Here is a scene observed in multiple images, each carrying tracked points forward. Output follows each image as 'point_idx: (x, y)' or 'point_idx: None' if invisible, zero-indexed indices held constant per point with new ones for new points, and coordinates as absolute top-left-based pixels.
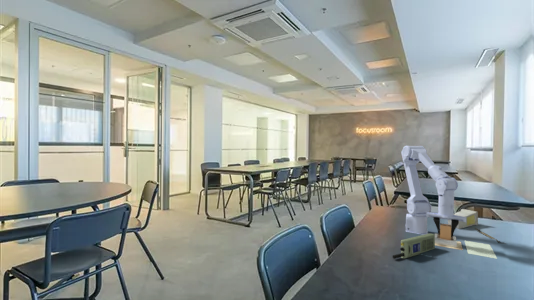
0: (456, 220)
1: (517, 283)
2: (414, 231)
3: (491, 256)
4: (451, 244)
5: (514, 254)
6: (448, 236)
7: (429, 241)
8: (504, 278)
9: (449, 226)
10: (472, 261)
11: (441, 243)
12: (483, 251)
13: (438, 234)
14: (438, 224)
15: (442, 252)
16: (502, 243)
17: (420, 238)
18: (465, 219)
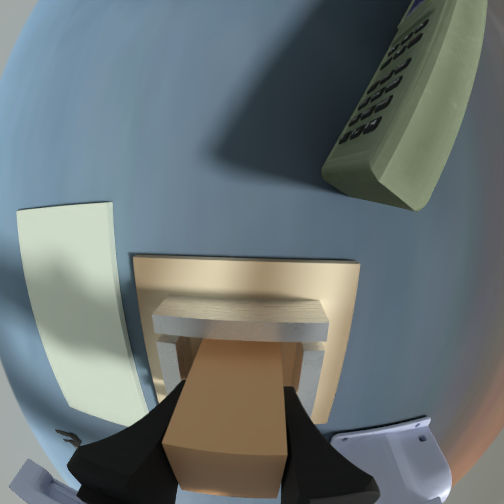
0: (96, 501)
1: (45, 7)
2: (395, 436)
3: (29, 231)
4: (197, 303)
5: (8, 333)
6: (210, 371)
7: (388, 85)
8: (60, 10)
9: (180, 451)
10: (106, 92)
11: (270, 305)
12: (55, 298)
13: (293, 388)
14: (309, 459)
15: (267, 143)
16: (62, 431)
17: (446, 1)
18: (18, 478)
